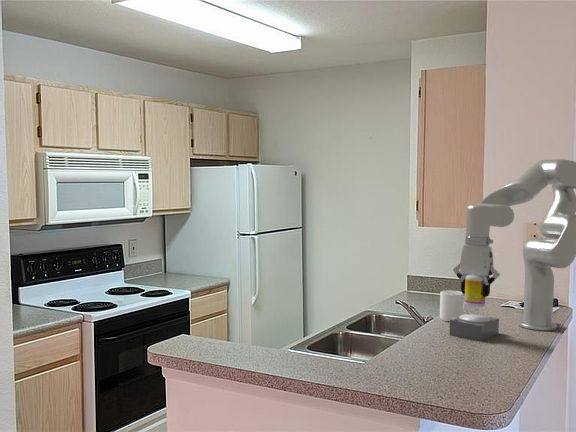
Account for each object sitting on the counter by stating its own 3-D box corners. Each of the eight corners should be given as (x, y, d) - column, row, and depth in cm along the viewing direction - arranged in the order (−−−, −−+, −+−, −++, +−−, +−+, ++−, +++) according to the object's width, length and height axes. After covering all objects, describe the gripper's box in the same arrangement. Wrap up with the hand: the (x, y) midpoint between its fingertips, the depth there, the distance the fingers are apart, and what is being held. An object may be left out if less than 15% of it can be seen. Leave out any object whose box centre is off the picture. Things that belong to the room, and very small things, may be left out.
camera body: (467, 327, 205) (468, 311, 205) (498, 333, 198) (499, 316, 197) (449, 334, 195) (449, 317, 194) (481, 341, 187) (481, 323, 187)
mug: (456, 315, 224) (457, 288, 223) (474, 319, 217) (475, 292, 216) (434, 318, 217) (435, 291, 217) (452, 323, 210) (452, 295, 210)
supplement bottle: (482, 308, 191) (483, 269, 190) (461, 305, 194) (463, 267, 194) (487, 304, 197) (488, 267, 196) (467, 302, 200) (468, 265, 199)
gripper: (507, 243, 191) (505, 297, 192) (457, 239, 203) (455, 289, 204) (498, 244, 186) (496, 300, 187) (447, 240, 197) (445, 292, 198)
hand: (475, 294), depth 195 cm, fingers closed on supplement bottle, 6 cm apart
